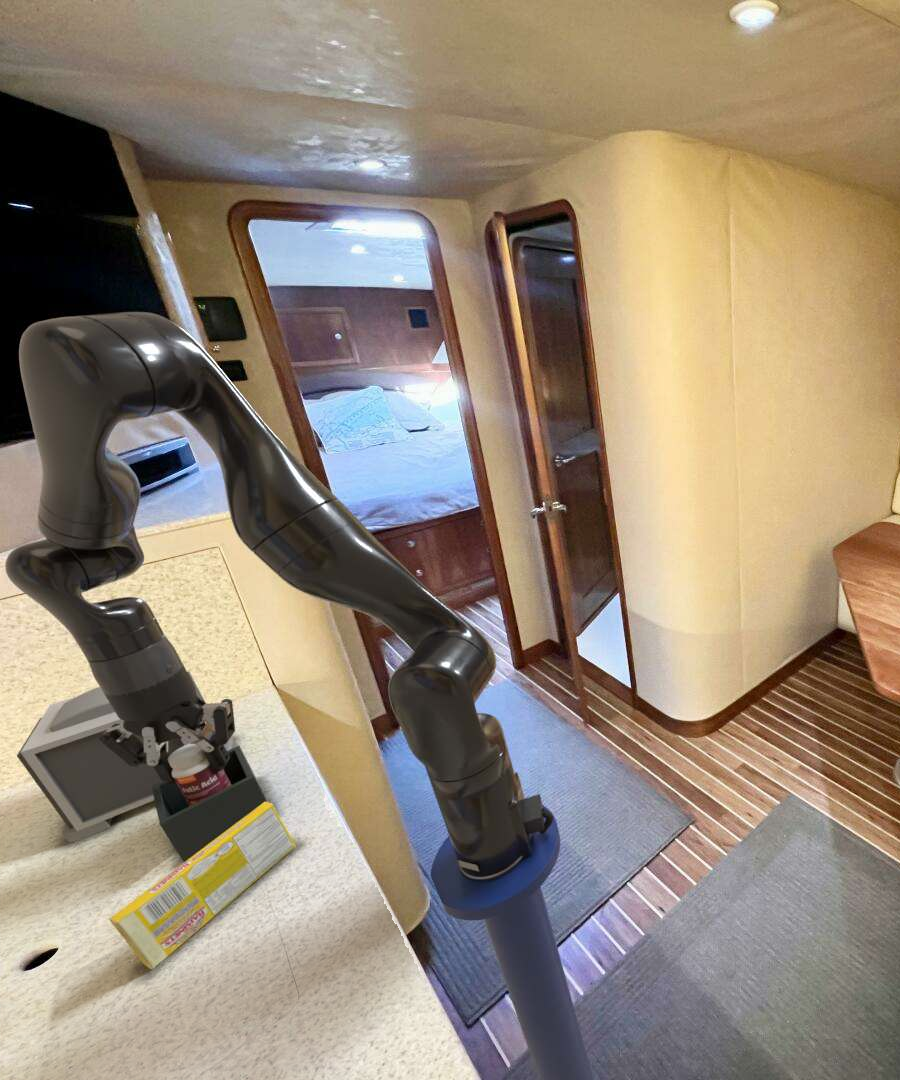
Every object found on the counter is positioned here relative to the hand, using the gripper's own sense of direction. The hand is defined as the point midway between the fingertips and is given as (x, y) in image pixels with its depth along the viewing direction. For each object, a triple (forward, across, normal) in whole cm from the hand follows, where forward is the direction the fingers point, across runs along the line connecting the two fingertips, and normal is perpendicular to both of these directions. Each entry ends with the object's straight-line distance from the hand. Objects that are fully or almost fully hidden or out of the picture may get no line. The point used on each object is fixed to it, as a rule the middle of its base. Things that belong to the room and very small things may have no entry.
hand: (198, 772), depth 76 cm
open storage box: (+9, 0, 0) cm, 9 cm away
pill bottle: (+5, 0, 0) cm, 5 cm away
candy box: (+9, -6, +16) cm, 19 cm away
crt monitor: (+9, +14, -13) cm, 21 cm away
